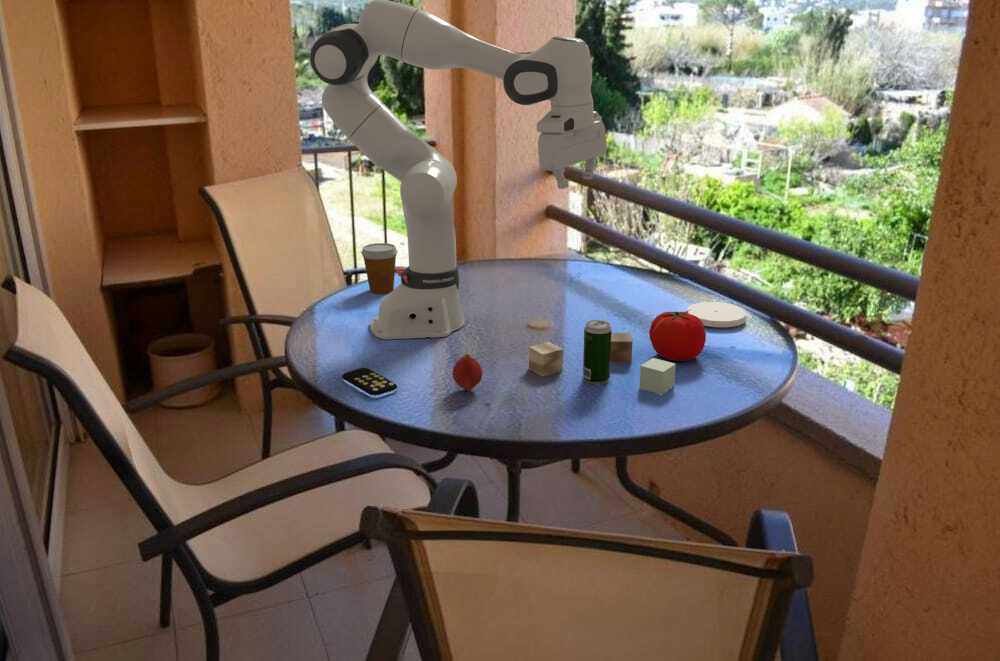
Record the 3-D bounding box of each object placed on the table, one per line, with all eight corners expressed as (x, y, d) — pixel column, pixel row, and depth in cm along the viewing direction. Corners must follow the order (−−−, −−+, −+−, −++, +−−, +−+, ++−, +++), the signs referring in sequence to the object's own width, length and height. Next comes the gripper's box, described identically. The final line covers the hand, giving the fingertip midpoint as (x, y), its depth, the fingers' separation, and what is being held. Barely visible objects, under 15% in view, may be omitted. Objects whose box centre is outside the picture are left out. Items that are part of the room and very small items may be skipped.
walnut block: (607, 363, 178) (608, 341, 176) (606, 354, 182) (607, 332, 181) (631, 363, 178) (632, 341, 176) (629, 354, 182) (630, 333, 180)
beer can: (597, 387, 166) (599, 331, 162) (577, 379, 170) (578, 324, 165) (615, 379, 169) (617, 324, 165) (594, 372, 173) (596, 317, 169)
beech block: (542, 376, 171) (542, 354, 170) (528, 368, 175) (529, 346, 174) (562, 371, 174) (562, 349, 172) (548, 363, 178) (548, 341, 176)
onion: (447, 390, 165) (445, 352, 163) (468, 381, 169) (467, 345, 166) (467, 399, 162) (466, 361, 159) (488, 390, 165) (488, 352, 162)
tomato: (711, 353, 182) (715, 308, 179) (694, 371, 173) (697, 325, 169) (658, 343, 188) (661, 299, 184) (639, 360, 179) (642, 315, 175)
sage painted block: (661, 395, 163) (663, 371, 161) (639, 388, 166) (640, 365, 164) (674, 386, 166) (675, 363, 165) (651, 380, 169) (653, 357, 167)
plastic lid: (757, 322, 201) (758, 312, 200) (720, 335, 193) (721, 325, 192) (710, 307, 211) (711, 298, 210) (673, 319, 203) (674, 310, 202)
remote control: (365, 373, 175) (365, 364, 174) (400, 393, 165) (399, 383, 165) (339, 381, 171) (339, 372, 170) (373, 402, 162) (373, 392, 161)
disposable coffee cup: (360, 287, 228) (357, 244, 224) (394, 283, 231) (392, 241, 227) (368, 297, 220) (365, 253, 216) (403, 293, 223) (401, 249, 219)
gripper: (588, 110, 184) (591, 172, 189) (531, 125, 170) (535, 192, 175) (612, 110, 180) (614, 174, 186) (556, 126, 166) (560, 195, 171)
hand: (575, 183), depth 180 cm, fingers open, 8 cm apart
